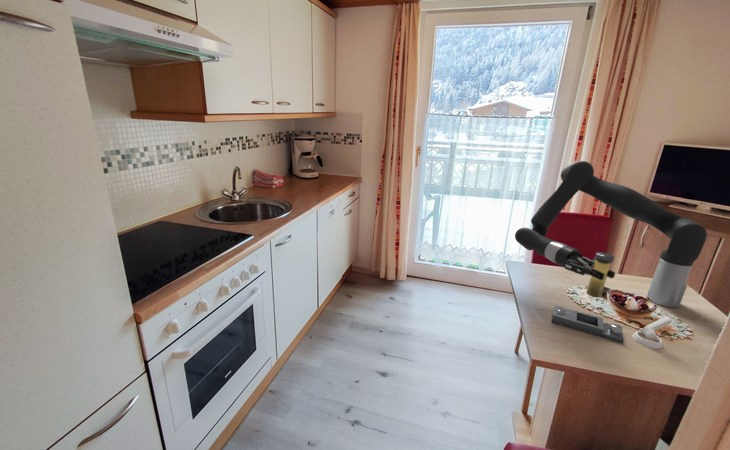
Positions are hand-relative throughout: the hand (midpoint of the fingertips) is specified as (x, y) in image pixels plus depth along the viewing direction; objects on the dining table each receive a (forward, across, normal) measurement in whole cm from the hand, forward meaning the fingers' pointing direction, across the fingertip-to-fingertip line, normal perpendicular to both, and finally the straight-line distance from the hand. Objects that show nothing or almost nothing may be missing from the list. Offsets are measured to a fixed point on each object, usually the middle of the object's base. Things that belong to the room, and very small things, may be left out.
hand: (608, 276), depth 103 cm
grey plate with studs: (-3, 0, +20) cm, 21 cm away
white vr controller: (+9, +13, +21) cm, 26 cm away
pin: (-3, 0, +8) cm, 8 cm away
